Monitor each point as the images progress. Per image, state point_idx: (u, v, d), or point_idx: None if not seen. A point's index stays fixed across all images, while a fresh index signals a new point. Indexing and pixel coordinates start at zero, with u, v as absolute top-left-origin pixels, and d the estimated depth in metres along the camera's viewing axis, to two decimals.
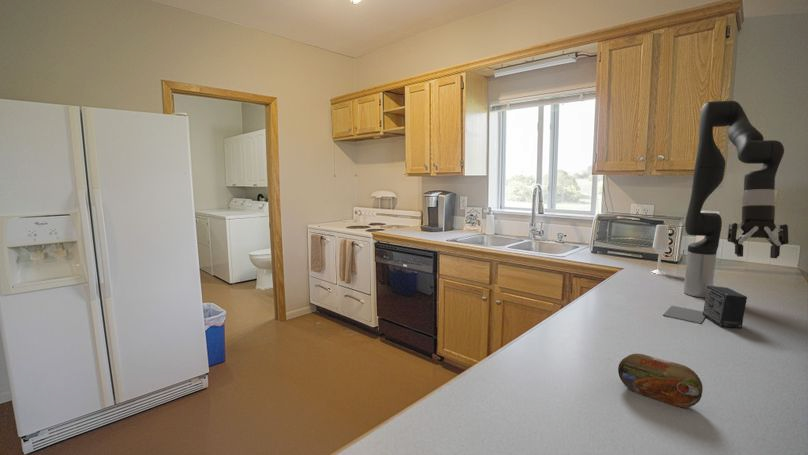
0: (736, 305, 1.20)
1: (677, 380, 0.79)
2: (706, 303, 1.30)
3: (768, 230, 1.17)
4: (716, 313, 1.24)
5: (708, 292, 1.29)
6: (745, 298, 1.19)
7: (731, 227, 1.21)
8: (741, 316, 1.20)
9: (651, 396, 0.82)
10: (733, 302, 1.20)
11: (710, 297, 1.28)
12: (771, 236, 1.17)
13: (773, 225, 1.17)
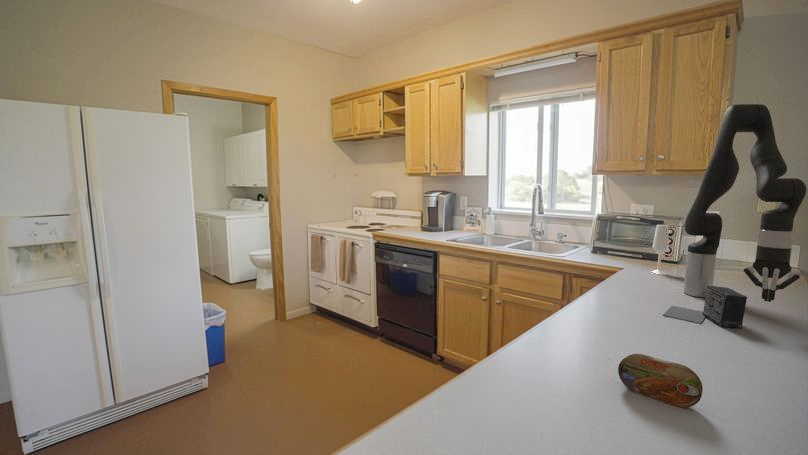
0: (736, 305, 1.20)
1: (677, 380, 0.79)
2: (706, 303, 1.30)
3: (776, 273, 1.14)
4: (716, 313, 1.24)
5: (708, 292, 1.29)
6: (745, 298, 1.19)
7: (746, 273, 1.20)
8: (741, 316, 1.20)
9: (651, 396, 0.82)
10: (733, 302, 1.20)
11: (710, 297, 1.28)
12: (773, 279, 1.15)
13: (788, 268, 1.13)
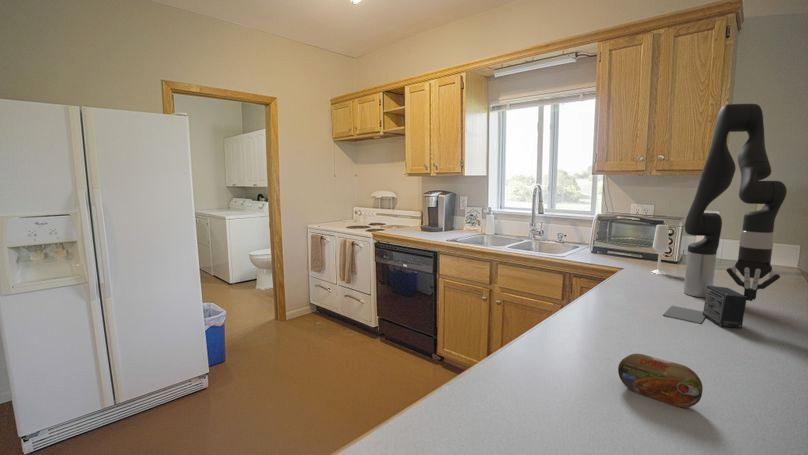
0: (736, 305, 1.20)
1: (677, 380, 0.79)
2: (706, 303, 1.30)
3: (758, 273, 1.17)
4: (716, 313, 1.24)
5: (708, 292, 1.29)
6: (745, 298, 1.19)
7: (729, 273, 1.23)
8: (741, 316, 1.20)
9: (651, 396, 0.82)
10: (733, 302, 1.20)
11: (710, 297, 1.28)
12: (755, 278, 1.18)
13: (768, 269, 1.16)
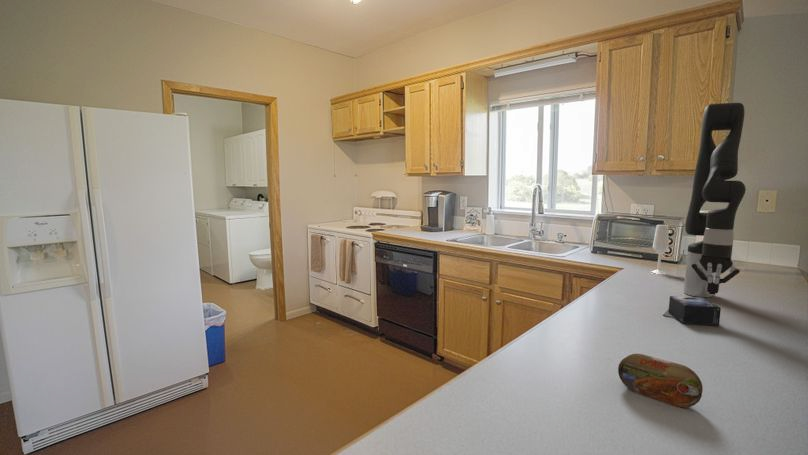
0: (694, 314, 1.23)
1: (677, 380, 0.79)
2: None
3: (719, 268, 1.24)
4: None
5: None
6: (686, 306, 1.23)
7: None
8: (707, 309, 1.22)
9: (651, 396, 0.82)
10: (690, 316, 1.23)
11: None
12: (716, 273, 1.25)
13: (729, 264, 1.23)
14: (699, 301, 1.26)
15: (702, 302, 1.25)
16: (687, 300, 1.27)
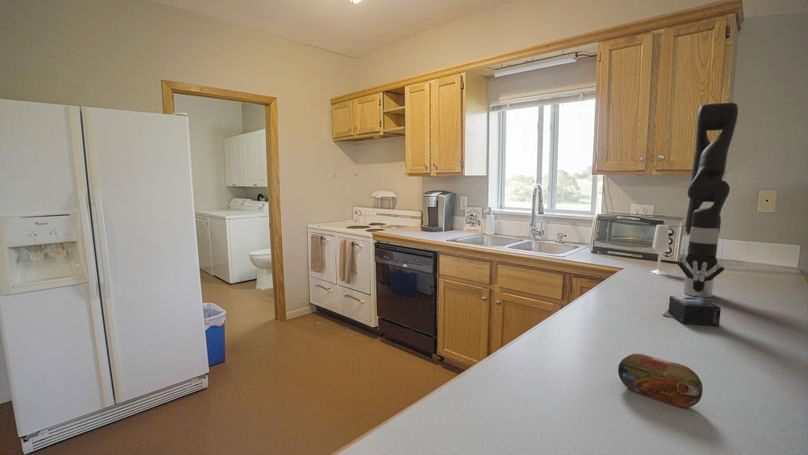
0: (694, 314, 1.23)
1: (677, 380, 0.79)
2: None
3: (704, 266, 1.26)
4: None
5: None
6: (686, 306, 1.23)
7: None
8: (707, 308, 1.22)
9: (651, 396, 0.82)
10: (690, 316, 1.23)
11: None
12: (702, 271, 1.27)
13: (714, 262, 1.25)
14: (699, 301, 1.26)
15: (702, 302, 1.25)
16: (687, 300, 1.27)
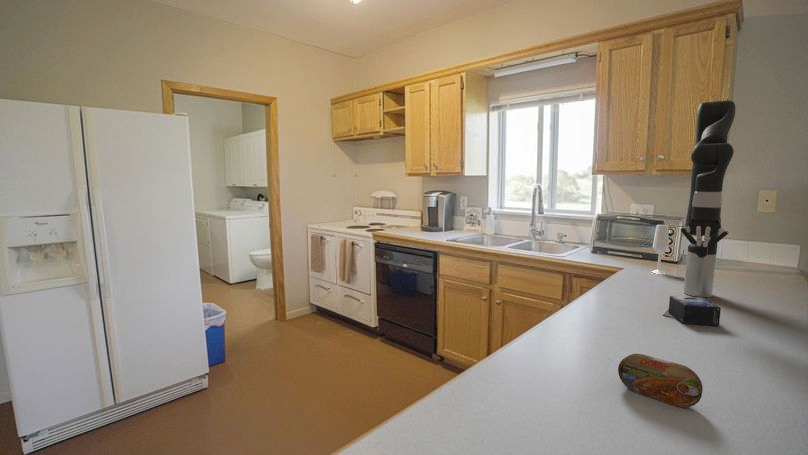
0: (694, 314, 1.23)
1: (677, 380, 0.79)
2: None
3: (708, 230, 1.25)
4: None
5: None
6: (686, 306, 1.23)
7: None
8: (707, 308, 1.22)
9: (651, 396, 0.82)
10: (690, 316, 1.23)
11: None
12: (705, 236, 1.26)
13: (717, 226, 1.24)
14: (699, 301, 1.26)
15: (702, 302, 1.25)
16: (687, 300, 1.27)
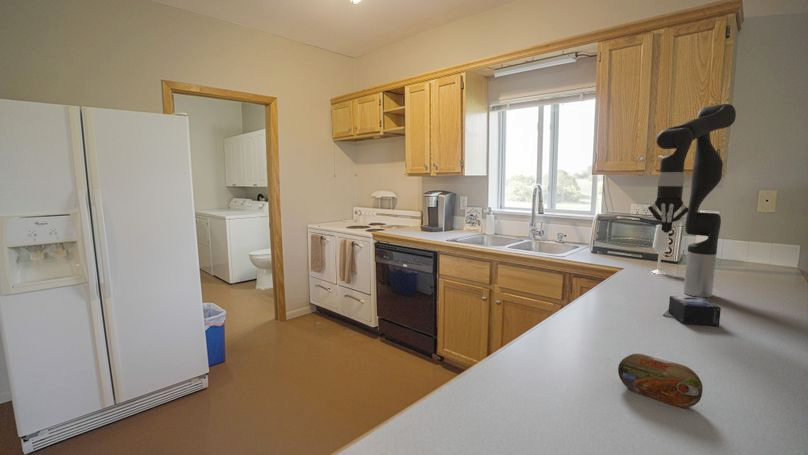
0: (694, 314, 1.23)
1: (677, 380, 0.79)
2: None
3: (671, 207, 1.38)
4: None
5: None
6: (686, 306, 1.23)
7: None
8: (707, 308, 1.22)
9: (651, 396, 0.82)
10: (690, 316, 1.23)
11: None
12: (669, 212, 1.39)
13: (679, 203, 1.37)
14: (699, 301, 1.26)
15: (702, 302, 1.25)
16: (687, 300, 1.27)
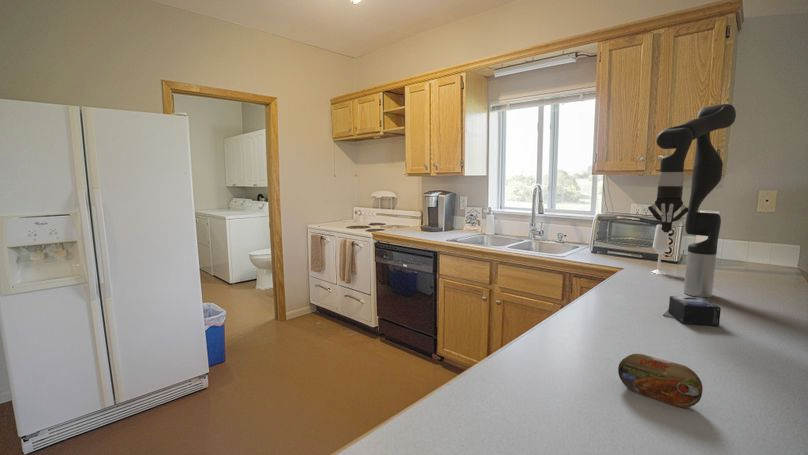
0: (694, 314, 1.23)
1: (677, 380, 0.79)
2: None
3: (671, 207, 1.38)
4: None
5: None
6: (686, 306, 1.23)
7: None
8: (707, 308, 1.22)
9: (651, 396, 0.82)
10: (690, 316, 1.23)
11: None
12: (669, 212, 1.39)
13: (679, 203, 1.37)
14: (699, 301, 1.26)
15: (702, 302, 1.25)
16: (687, 300, 1.27)
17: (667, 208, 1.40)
